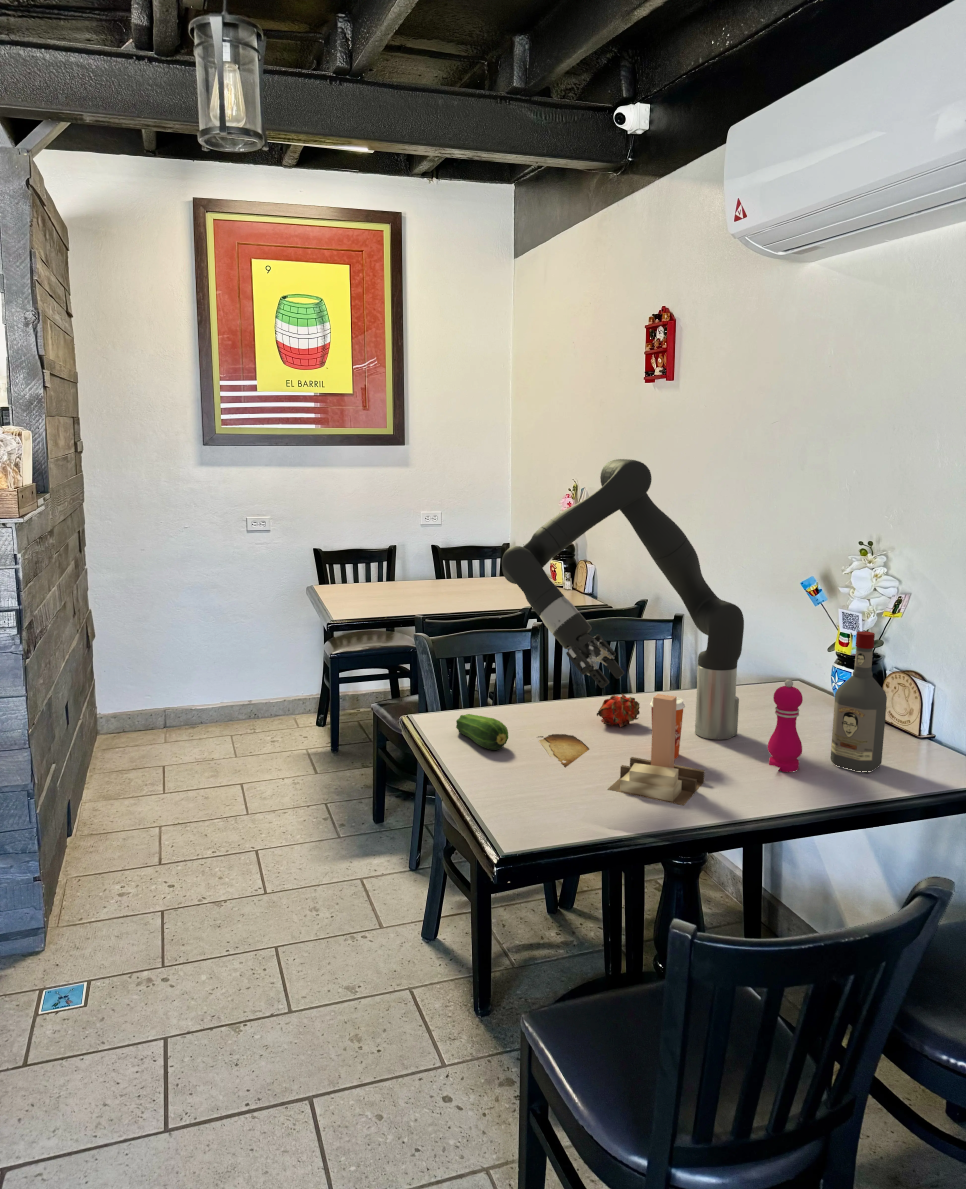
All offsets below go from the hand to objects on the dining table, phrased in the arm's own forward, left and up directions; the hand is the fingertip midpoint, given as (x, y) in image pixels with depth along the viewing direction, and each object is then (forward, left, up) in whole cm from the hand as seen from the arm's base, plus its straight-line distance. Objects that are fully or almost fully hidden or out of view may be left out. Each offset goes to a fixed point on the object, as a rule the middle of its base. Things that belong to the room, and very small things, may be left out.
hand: (613, 680), depth 188 cm
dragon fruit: (-17, -29, -21) cm, 40 cm away
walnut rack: (-5, +11, -21) cm, 24 cm away
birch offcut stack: (-2, +13, -20) cm, 24 cm away
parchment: (+3, -15, -21) cm, 26 cm away
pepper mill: (-38, +9, -21) cm, 44 cm away
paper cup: (-16, -4, -21) cm, 27 cm away
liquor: (-54, +13, -21) cm, 59 cm away
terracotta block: (-7, +9, -20) cm, 23 cm away
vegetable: (+20, -30, -21) cm, 42 cm away
